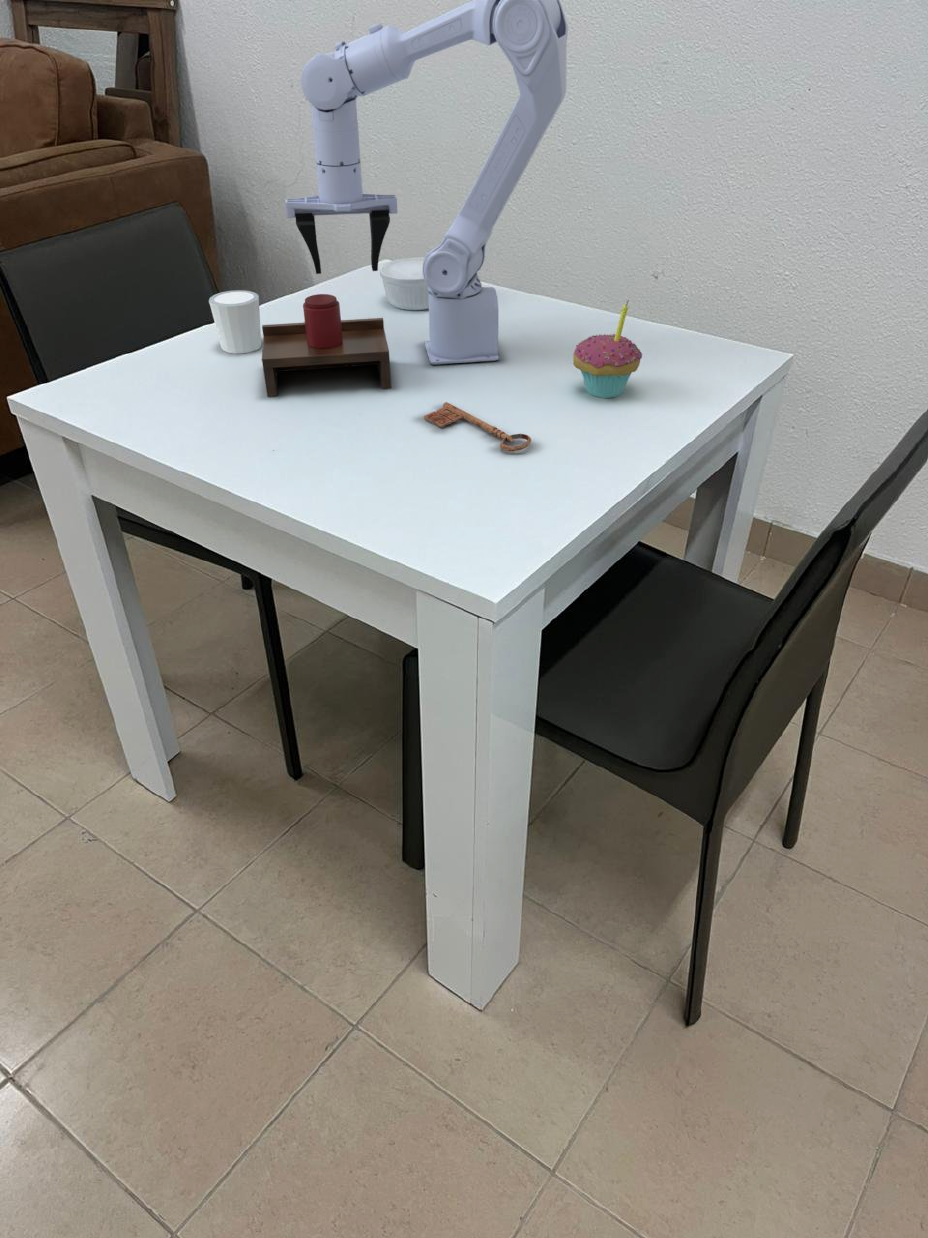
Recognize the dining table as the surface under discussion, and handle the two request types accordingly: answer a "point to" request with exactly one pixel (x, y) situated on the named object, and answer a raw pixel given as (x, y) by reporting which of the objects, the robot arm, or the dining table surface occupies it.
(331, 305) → the red lidded jar
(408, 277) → the ramekin
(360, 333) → the shelf
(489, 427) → the key
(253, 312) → the white cup
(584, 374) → the cupcake
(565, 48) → the robot arm
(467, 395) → the dining table surface
